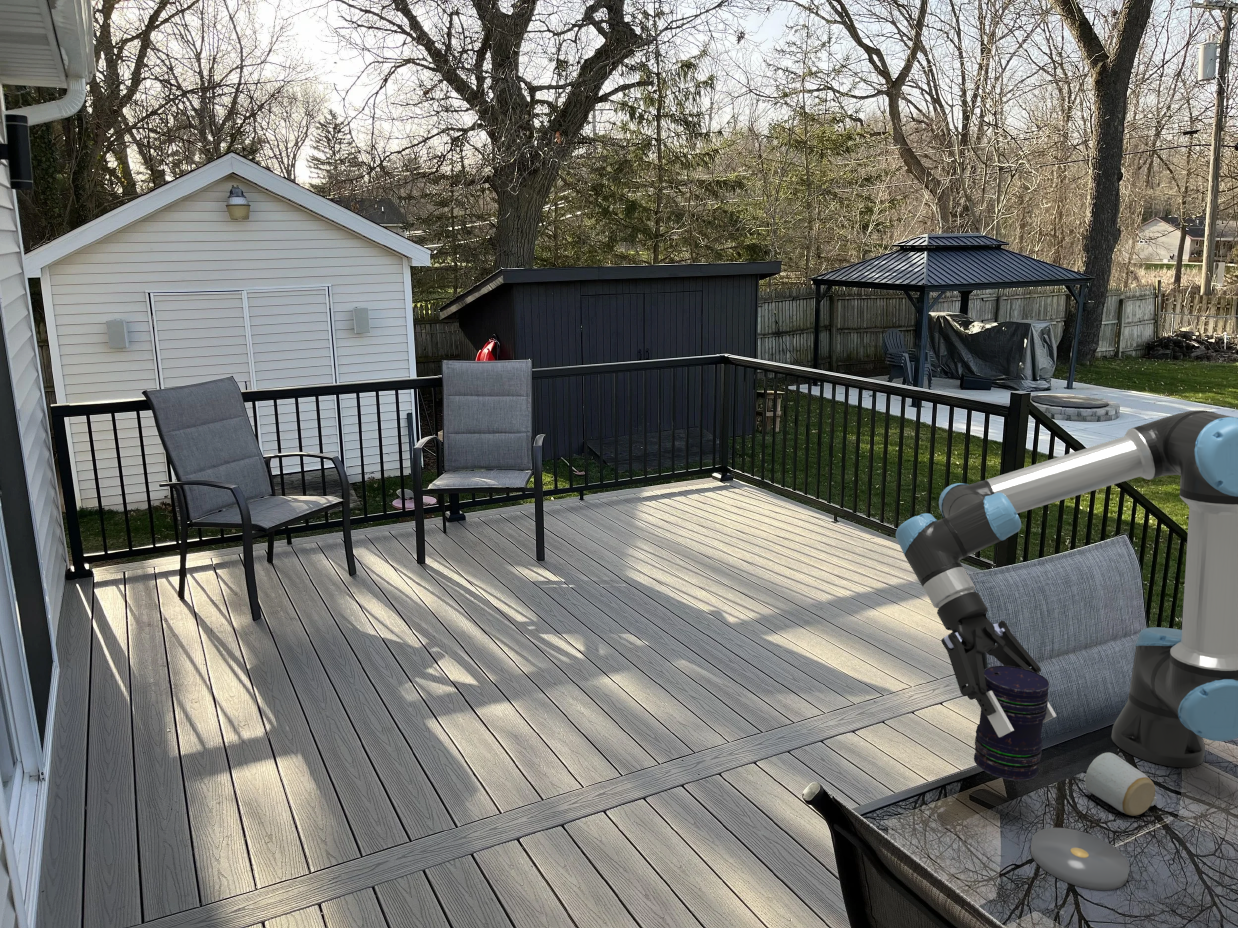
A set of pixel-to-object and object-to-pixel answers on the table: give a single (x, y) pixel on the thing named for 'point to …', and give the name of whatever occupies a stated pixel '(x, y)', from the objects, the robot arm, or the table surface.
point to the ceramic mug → (1120, 784)
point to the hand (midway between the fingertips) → (1028, 726)
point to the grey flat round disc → (1079, 858)
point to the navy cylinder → (1013, 724)
